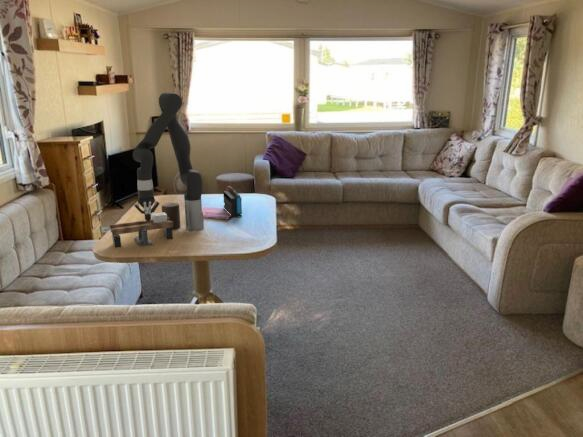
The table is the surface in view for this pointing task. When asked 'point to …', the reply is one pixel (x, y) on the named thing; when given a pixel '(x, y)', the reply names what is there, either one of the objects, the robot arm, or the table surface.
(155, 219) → the steel weight
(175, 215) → the pillar candle
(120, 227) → the walnut beam
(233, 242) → the table surface
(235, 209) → the game console
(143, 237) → the pivot stand
